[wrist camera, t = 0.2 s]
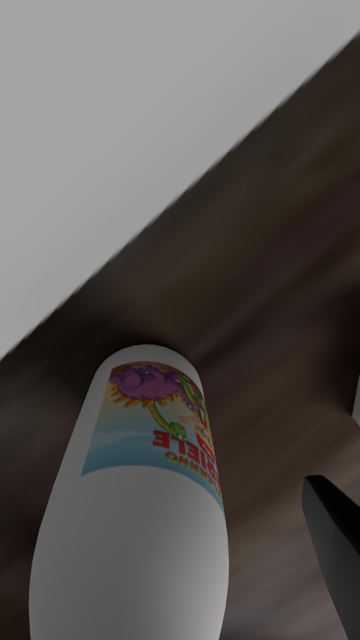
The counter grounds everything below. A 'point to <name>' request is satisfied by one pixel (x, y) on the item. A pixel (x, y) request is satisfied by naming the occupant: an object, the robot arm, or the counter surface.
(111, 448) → the milk bottle
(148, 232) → the counter surface
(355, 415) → the dish
